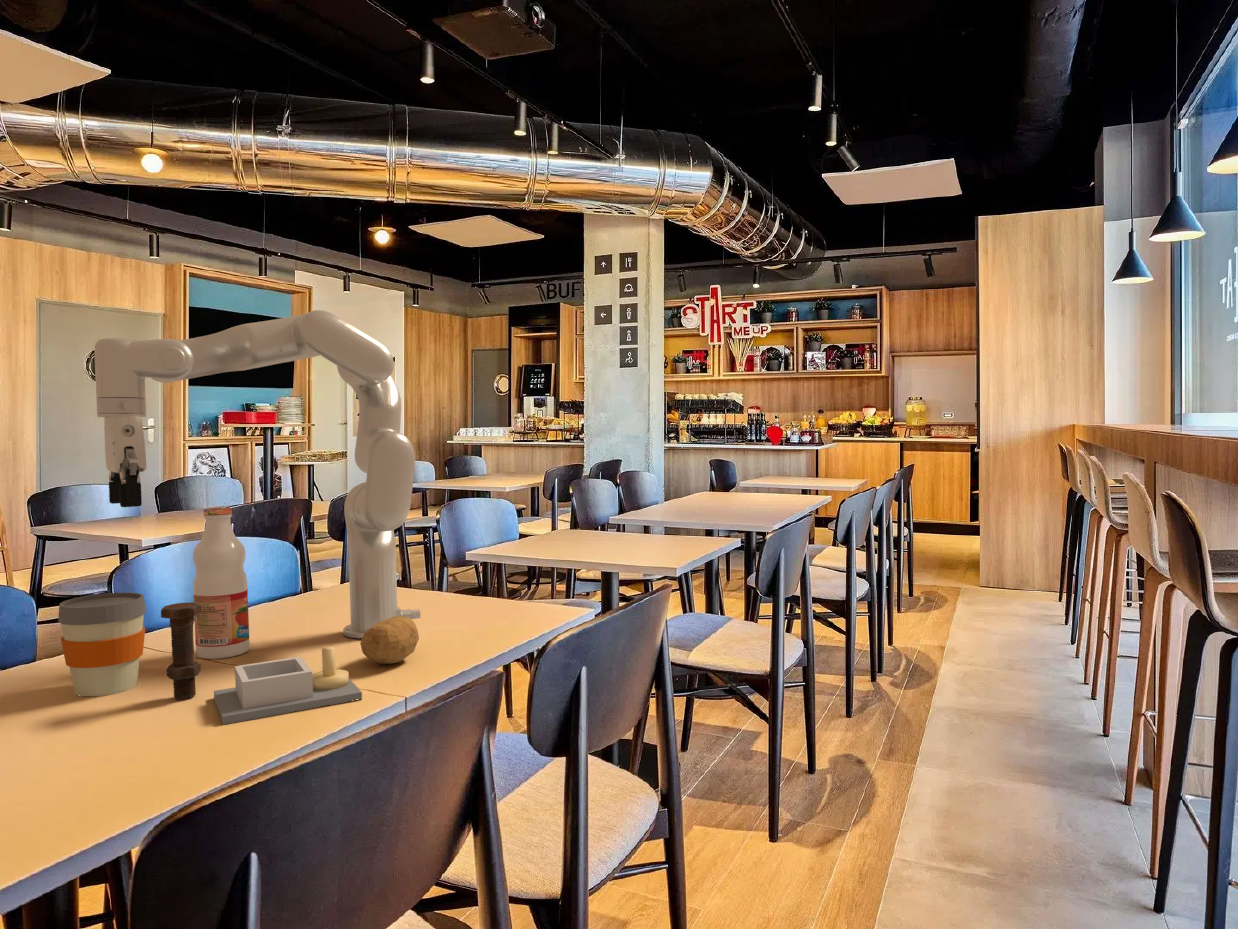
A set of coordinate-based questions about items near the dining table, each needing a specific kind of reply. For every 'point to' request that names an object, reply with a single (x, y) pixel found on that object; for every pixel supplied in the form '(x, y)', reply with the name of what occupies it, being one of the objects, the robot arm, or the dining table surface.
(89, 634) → the reusable coffee cup
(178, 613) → the bolt
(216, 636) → the fruit juice
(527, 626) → the dining table surface
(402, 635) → the potato
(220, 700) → the board
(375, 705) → the dining table surface
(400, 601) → the dining table surface
